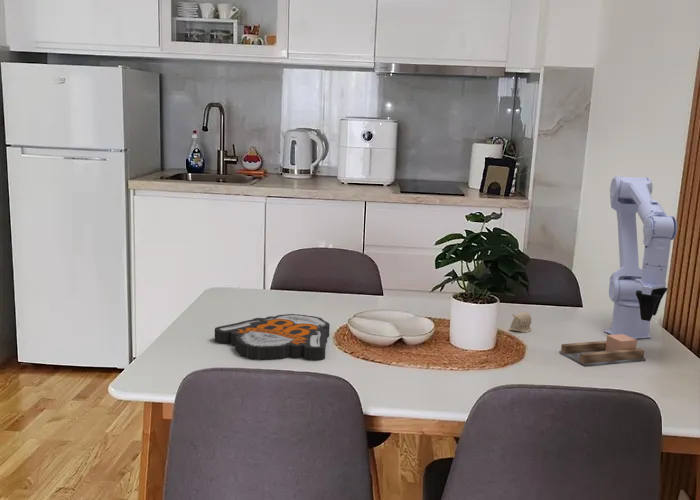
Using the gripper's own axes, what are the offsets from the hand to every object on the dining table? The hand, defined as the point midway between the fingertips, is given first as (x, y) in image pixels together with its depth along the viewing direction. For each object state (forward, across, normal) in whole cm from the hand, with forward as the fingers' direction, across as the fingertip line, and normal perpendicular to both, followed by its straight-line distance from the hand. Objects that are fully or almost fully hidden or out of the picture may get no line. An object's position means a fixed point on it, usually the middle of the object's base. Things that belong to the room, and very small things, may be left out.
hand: (648, 317), depth 178 cm
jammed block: (+9, +6, -4) cm, 12 cm away
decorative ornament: (+10, +2, -32) cm, 33 cm away
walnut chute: (+9, +10, -8) cm, 16 cm away
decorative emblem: (+10, +53, -74) cm, 92 cm away
